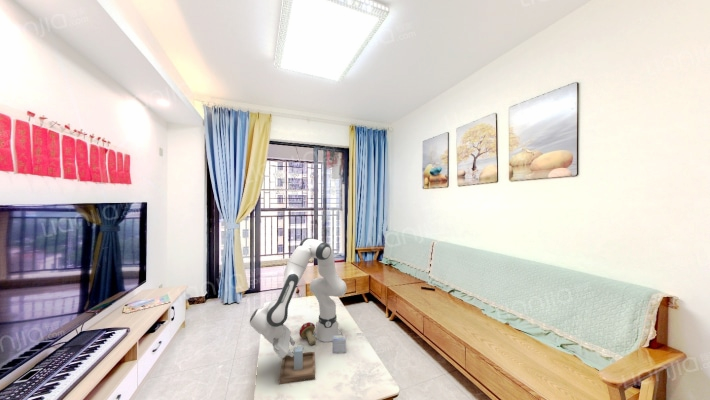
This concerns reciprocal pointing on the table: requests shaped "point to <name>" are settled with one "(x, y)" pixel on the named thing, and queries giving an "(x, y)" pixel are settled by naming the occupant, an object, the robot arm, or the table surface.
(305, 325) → the decorative mushroom
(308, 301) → the table surface
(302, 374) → the walnut tray
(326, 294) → the robot arm
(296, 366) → the slate block
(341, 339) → the medicine box
